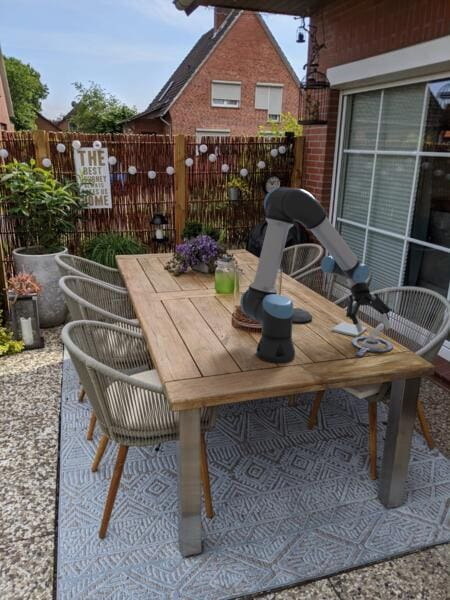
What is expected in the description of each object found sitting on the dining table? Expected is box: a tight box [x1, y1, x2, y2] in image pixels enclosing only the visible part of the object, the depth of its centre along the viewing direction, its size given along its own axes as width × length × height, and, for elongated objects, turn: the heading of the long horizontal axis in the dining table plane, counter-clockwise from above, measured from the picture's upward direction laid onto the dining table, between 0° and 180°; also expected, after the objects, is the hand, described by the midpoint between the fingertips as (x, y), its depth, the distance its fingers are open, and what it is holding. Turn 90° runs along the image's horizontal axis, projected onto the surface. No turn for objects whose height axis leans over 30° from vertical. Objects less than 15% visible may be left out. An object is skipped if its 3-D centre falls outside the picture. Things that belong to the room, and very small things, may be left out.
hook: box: [361, 323, 385, 349], centre depth 186 cm, size 8×12×7 cm
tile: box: [331, 321, 368, 338], centre depth 203 cm, size 12×12×1 cm
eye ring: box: [351, 335, 394, 358], centre depth 184 cm, size 23×16×1 cm
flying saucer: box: [293, 307, 313, 323], centre depth 218 cm, size 15×15×6 cm
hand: (374, 329), depth 186 cm, fingers open, 13 cm apart
